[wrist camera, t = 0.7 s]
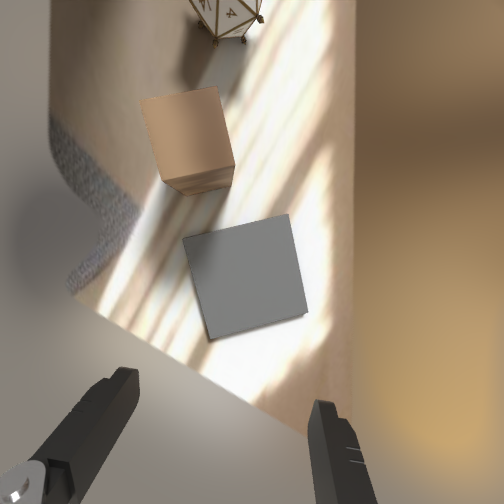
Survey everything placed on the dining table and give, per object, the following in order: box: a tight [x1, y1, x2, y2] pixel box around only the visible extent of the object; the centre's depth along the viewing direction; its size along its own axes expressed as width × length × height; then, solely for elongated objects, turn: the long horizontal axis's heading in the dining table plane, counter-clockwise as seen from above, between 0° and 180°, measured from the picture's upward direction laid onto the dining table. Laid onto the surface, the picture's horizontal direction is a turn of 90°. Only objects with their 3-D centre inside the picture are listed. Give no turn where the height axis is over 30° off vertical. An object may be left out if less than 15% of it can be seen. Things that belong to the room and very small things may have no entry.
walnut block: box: [139, 86, 235, 196], centre depth 22 cm, size 6×6×11 cm
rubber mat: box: [183, 214, 308, 339], centre depth 29 cm, size 13×13×1 cm
